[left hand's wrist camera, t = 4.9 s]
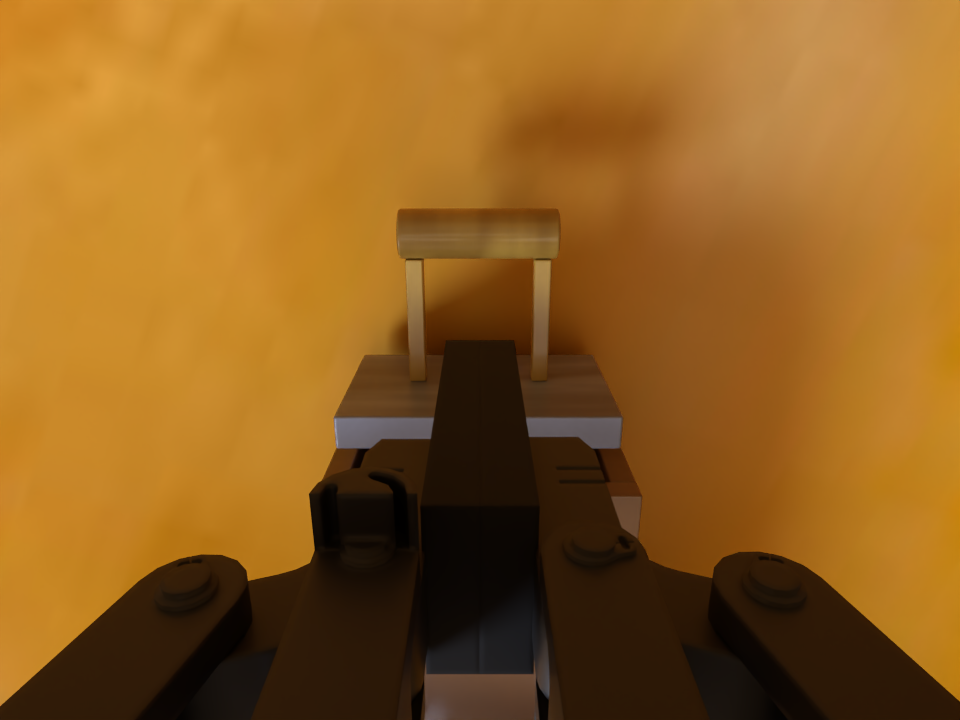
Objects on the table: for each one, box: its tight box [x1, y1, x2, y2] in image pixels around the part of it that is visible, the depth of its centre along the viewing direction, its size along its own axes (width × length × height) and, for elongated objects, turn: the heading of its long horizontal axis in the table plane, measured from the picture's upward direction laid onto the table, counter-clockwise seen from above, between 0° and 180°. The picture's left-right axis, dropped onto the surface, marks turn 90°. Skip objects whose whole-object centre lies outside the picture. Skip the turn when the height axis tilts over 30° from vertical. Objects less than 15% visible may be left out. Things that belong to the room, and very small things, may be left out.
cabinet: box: [323, 447, 642, 720], centre depth 28 cm, size 18×11×8 cm, turn 0°
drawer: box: [334, 209, 623, 449], centre depth 26 cm, size 23×10×6 cm, turn 0°
